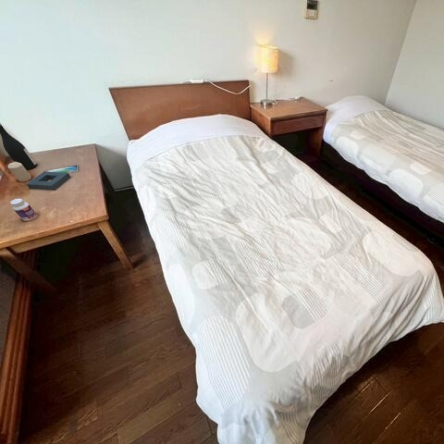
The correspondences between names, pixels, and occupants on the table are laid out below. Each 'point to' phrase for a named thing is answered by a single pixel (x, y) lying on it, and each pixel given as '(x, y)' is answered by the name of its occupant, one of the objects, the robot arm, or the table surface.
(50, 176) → the socket pad
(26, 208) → the pill bottle
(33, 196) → the table surface
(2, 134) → the wine bottle
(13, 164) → the candle
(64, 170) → the smartphone
